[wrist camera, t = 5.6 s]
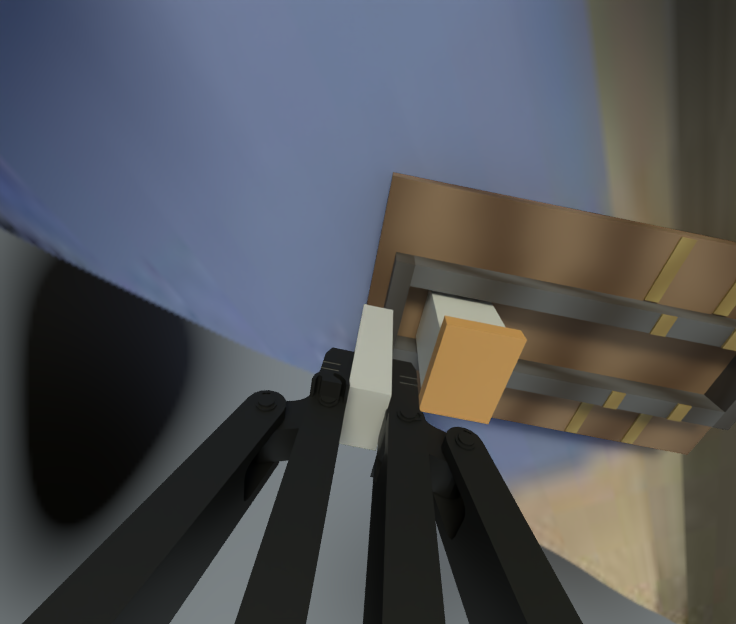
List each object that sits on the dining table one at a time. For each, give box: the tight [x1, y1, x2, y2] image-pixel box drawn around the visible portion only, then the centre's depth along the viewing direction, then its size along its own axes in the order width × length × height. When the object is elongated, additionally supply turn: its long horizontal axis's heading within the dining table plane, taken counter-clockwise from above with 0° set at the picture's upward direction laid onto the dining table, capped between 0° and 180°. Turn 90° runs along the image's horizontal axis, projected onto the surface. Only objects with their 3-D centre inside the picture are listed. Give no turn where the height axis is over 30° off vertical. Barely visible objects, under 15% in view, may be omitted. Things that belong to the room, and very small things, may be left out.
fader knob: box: [416, 290, 527, 424], centre depth 18 cm, size 3×5×6 cm
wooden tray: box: [367, 172, 736, 455], centre depth 21 cm, size 24×14×4 cm, turn 80°
